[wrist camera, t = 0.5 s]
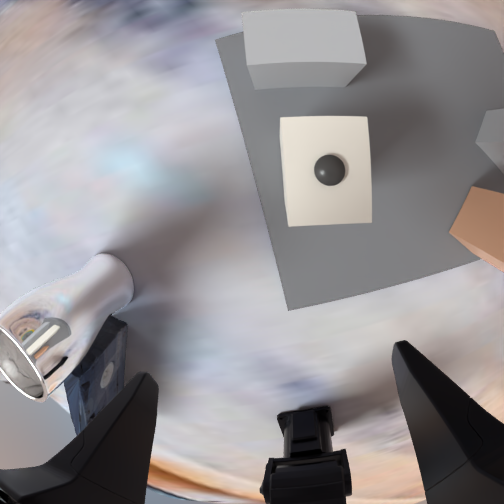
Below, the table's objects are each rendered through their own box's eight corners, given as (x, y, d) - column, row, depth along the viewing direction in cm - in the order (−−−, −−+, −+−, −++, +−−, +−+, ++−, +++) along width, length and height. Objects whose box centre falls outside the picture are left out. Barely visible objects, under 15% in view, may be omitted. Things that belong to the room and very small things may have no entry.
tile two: (472, 252, 21) (531, 292, 12) (448, 232, 21) (513, 268, 12) (493, 209, 20) (558, 234, 11) (471, 186, 19) (541, 204, 11)
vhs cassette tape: (109, 312, 28) (59, 365, 19) (132, 323, 28) (86, 382, 19) (106, 405, 34) (78, 451, 25) (124, 413, 34) (97, 461, 25)
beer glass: (116, 237, 25) (0, 309, 11) (150, 300, 27) (66, 404, 13) (74, 262, 27) (-26, 329, 12) (105, 317, 28) (25, 404, 14)
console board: (527, 237, 21) (565, 256, 14) (287, 305, 26) (289, 352, 19) (489, 33, 14) (525, 17, 7) (217, 44, 19) (195, 7, 12)
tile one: (335, 198, 21) (373, 223, 12) (284, 200, 22) (288, 227, 13) (332, 133, 20) (368, 116, 11) (279, 135, 20) (280, 116, 11)
